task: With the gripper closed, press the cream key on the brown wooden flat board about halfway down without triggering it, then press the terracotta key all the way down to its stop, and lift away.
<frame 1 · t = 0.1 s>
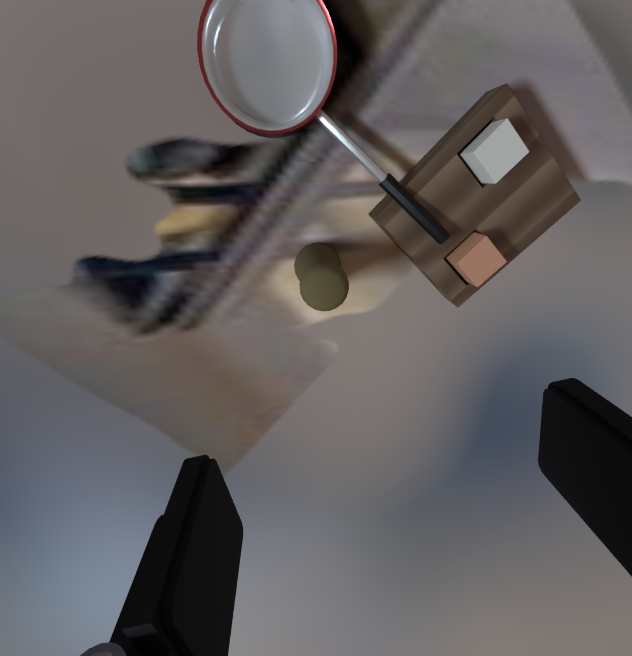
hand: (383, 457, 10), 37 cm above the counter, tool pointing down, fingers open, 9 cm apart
cream key: (493, 152, 37), point 5 cm above the counter, slide at 0.0 cm
terracotta key: (475, 259, 41), point 5 cm above the counter, slide at 0.0 cm
brown wooden flat board: (463, 206, 44), on the counter
frying pan: (341, 130, 40), on the counter
olive brown rounded cylinder: (317, 265, 46), on the counter
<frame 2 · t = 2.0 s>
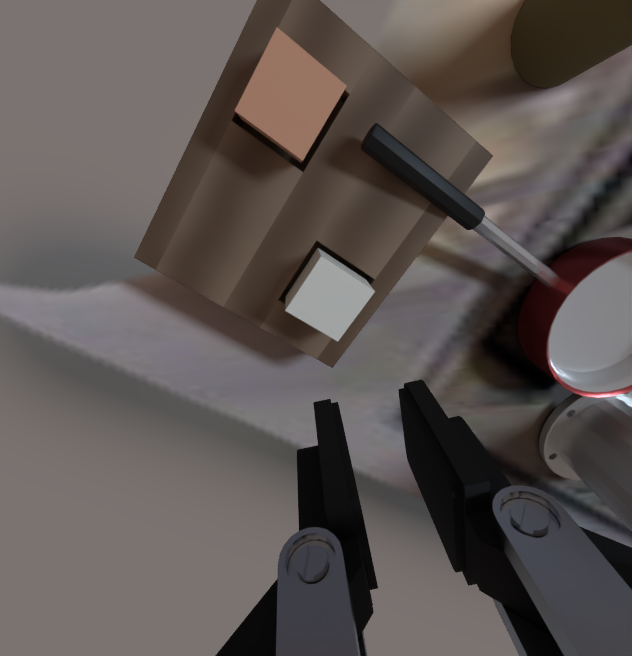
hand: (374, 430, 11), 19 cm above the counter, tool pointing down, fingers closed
cream key: (327, 294, 24), point 5 cm above the counter, slide at 0.0 cm
terracotta key: (290, 103, 19), point 5 cm above the counter, slide at 0.0 cm
brown wooden flat board: (307, 203, 26), on the counter
frying pan: (502, 265, 30), on the counter
olive brown rounded cylinder: (553, 35, 23), on the counter
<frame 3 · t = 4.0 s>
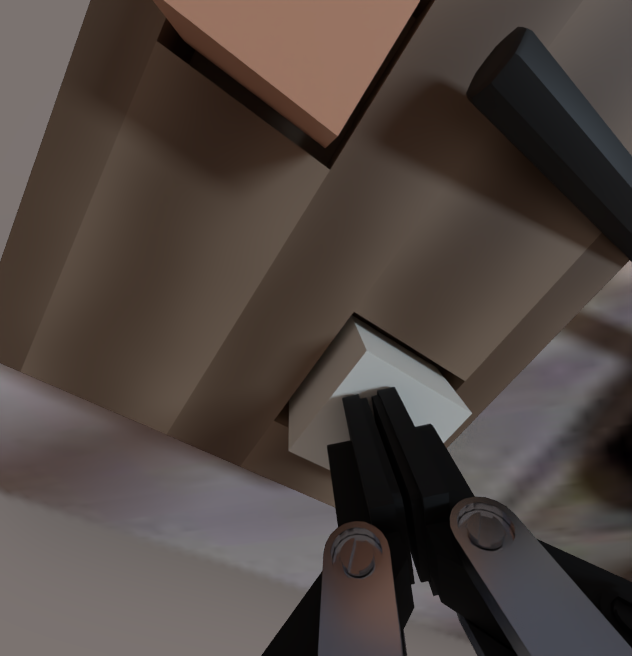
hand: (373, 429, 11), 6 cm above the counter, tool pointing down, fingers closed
cream key: (370, 405, 12), point 4 cm above the counter, slide at 0.8 cm, touching gripper
brown wooden flat board: (329, 229, 14), on the counter
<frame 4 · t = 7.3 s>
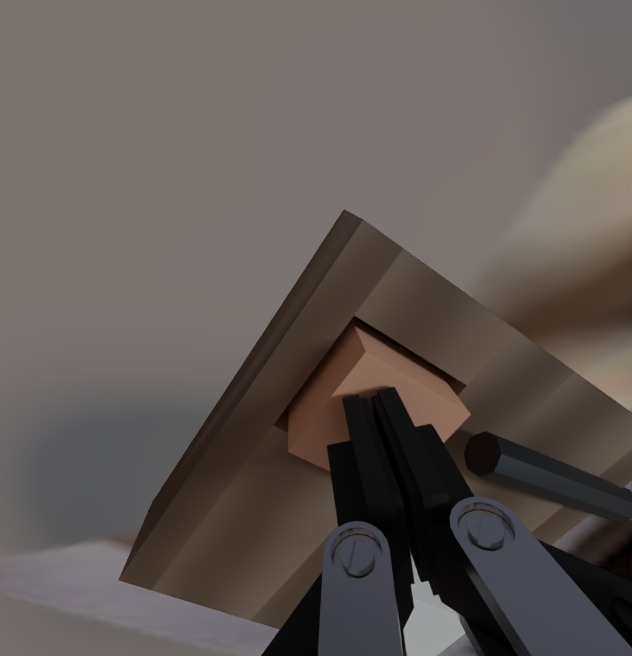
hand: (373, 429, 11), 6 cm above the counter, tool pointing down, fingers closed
cream key: (402, 599, 17), point 4 cm above the counter, slide at 0.9 cm
terracotta key: (369, 406, 12), point 4 cm above the counter, slide at 1.0 cm, touching gripper
brown wooden flat board: (368, 447, 18), on the counter
frying pan: (617, 491, 21), on the counter
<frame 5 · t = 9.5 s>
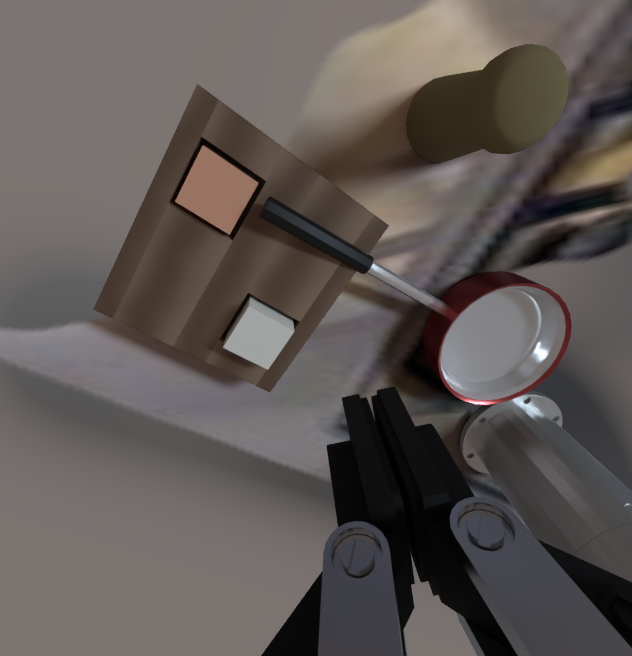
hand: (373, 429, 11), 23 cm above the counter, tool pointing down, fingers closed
cream key: (259, 331, 30), point 4 cm above the counter, slide at 0.9 cm
terracotta key: (219, 191, 26), point 3 cm above the counter, slide at 2.0 cm
brown wooden flat board: (244, 255, 31), on the counter
frying pan: (405, 295, 35), on the counter
olive brown rounded cylinder: (441, 121, 28), on the counter
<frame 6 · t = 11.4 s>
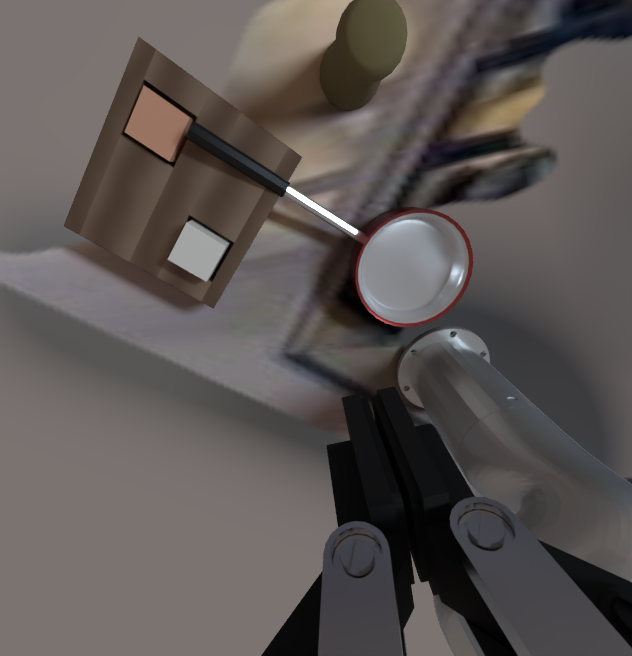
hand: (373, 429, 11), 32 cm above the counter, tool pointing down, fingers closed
cream key: (200, 250, 36), point 4 cm above the counter, slide at 0.9 cm
terracotta key: (162, 127, 32), point 3 cm above the counter, slide at 2.0 cm
brown wooden flat board: (191, 190, 37), on the counter
frying pan: (332, 228, 40), on the counter
olive brown rounded cylinder: (350, 75, 34), on the counter
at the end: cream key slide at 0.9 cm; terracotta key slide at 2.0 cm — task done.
